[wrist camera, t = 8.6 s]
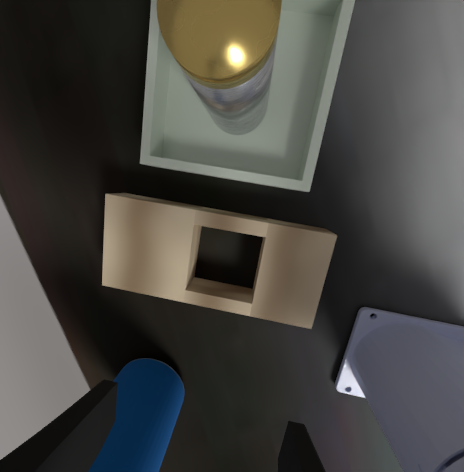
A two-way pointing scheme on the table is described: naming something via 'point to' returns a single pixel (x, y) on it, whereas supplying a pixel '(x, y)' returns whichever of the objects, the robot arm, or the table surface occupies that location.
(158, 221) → the wooden block with hole
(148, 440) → the beverage can
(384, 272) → the table surface
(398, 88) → the table surface
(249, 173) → the tray
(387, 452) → the table surface
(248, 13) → the white and gold cylinder
